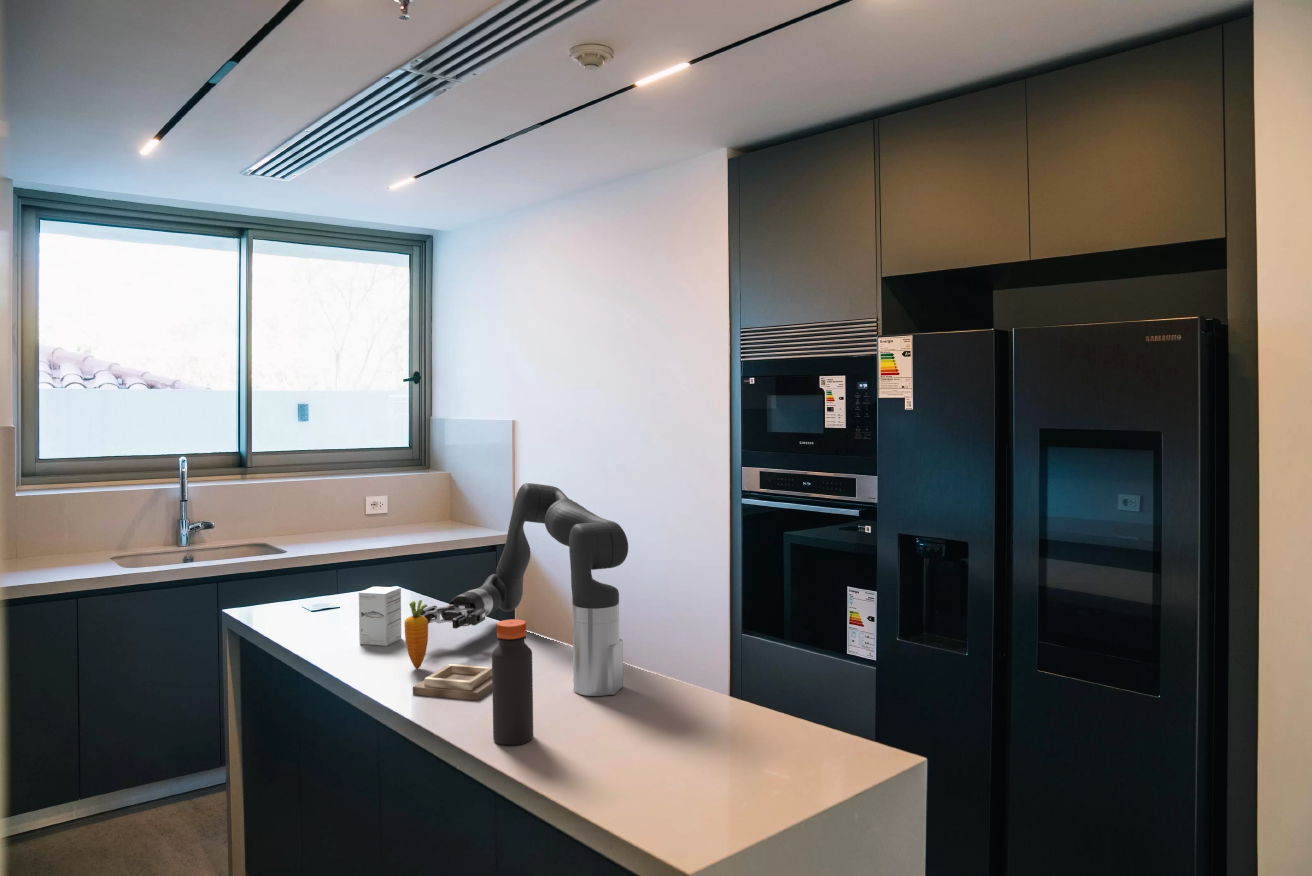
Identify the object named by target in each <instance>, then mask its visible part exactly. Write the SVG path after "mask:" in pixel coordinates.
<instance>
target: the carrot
mask: <svg viewBox="0 0 1312 876" xmlns="http://www.w3.org/2000/svg"><path fill="white" fill-rule="evenodd" d="M422 602H423V600H422V599H419V600H418V603H417V606H416V601H415V600H412V601H411V602H409V607H410V609H411V613H412V615H411V616H408V617H407V618H406V619H405V620H404V635H405V637H404V638H405V645H406V650H407V653H408V657H409V660H410V662H411V663H412V666H413V667H414V668H415V669H416V670H418V669H419V668H420V667H421V666H422V665H423V664H422V663H423V662H424V659H425V657H426V652H427V647H428V641H429V624H428V620H427V619H426V618H425V617H424V616H420V614H421V612H422V611H423V610H424V609H426V608H428V604H426V603H425V604H423V605H422ZM416 607H417V608H416Z"/></svg>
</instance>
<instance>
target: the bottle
mask: <svg viewBox="0 0 1312 876" xmlns="http://www.w3.org/2000/svg"><path fill="white" fill-rule="evenodd" d="M526 635H527V622H526V621H525V620H523V619H517V618H516V619H515V618H514V619H512V618H511V619H503V620H501V621H498V622H497V623H496V637H497V640H498V645H497V646H495V648H494V649H493V651H492V652H491V667H492V733H493V734H492V736H493V737H492V739H493V741H494V742H495V743H496V744H497V745H500V746H506V747H507V746H509V747H510V746H511V747H513V746H519V745H524V744H527V743H528V742H531V740H532V739H533V738H534V699H533V697H534V695H533V693H534V691H533V689H534V688H533V680H534V679H533V651H532V649H531V648H530V647H529V645H527V643H525V639H526V638H527V636H526Z"/></svg>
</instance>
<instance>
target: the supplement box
mask: <svg viewBox="0 0 1312 876" xmlns="http://www.w3.org/2000/svg"><path fill="white" fill-rule="evenodd" d="M401 588H402V587H390V586H371V587H369V588H366V589H364V590H361V591H359V592H358V620H359V621H358V624H359V626H358V627H359V628H358V629H359V634H358V637H359V641H358V643H359V645H368V646H369V645H373V646H381V647H382V646H383V647H388V646H390V645H391V644H394V643H395V642H397V641H400V640H402V595H401V594H402V589H401Z"/></svg>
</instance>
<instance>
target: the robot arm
mask: <svg viewBox="0 0 1312 876" xmlns="http://www.w3.org/2000/svg"><path fill="white" fill-rule="evenodd" d="M510 516H511V517H510V520H509V525H508V531H507V534H506V535H507V536H506V540H505V544H504V547H503V551H502V554H501V556H500V557H499V558H500V559H499V561H498V564H497V566H496V571H495V573H493V574H491V575H489V576H488V577H487V578H486V579H485V580H484V582H483V584H482V585H481V586H480V587H477V588H475V589H469V590H467V591H466V592H463V593H461V594H458V595H456V596H454V597H453V599H451V601H450V602H449V604H447V605H446V606H439V607H438V606H437V605H431V606H430V607H425V608H424V609H423V611H422V612H421V614H420V616H424V617H425V618H426V619H427V620H428V625H429V624H430V623H436V624H444V623H445V624H446V623H450V624H451V623H452V629H453V630H454V629H458V628H461V627H469V626H474V627H475V626H477V625H478V624H480V623H482V622H483V621H485V620H486V617H487V616H489V615H490V614H492V613H494V612H496V611H497V610H498V609H500V610H502V611H504V612H507V613H508V612H512V611H514V610H515V609H517V607H519V605H520V603H521V601H522V598H523V593H524V575H525V573H526V571H527V569H528V565H529V562H530V559H531V547H530V544H529V542H528V539H527V537H526V534H525V530H524V526H525V525H524V524H525V522H528V523H538V524H544V526H545V529H546V531H547V533H548V534H549V535H550V536H551V537H552V538H553V539H554V540H555V541H556V542H558V543H559V544H561V545H564V546H566V547H568V549H569V550H568V551H569V563H570V584H571V585H570V586H571V596H572V598H571V599H572V659H573V660H572V664H573V665H572V667H573V668H572V669H573V670H572V671H573V675H572V676H573V677H572V680H573V681H572V683H573V691H574V692H575V693H576V694H578V695H583V696H589V697H600V696H602V697H603V696H614V695H615V694H617V693H618V692H619V691H620V689H621V688H623V686H624V642H623V641H624V640H623V639H622V638H620V593H619V590H618V588H617V587H615V586H613V585H610V584H607V583H603V582H599V581H598V580H595V578H593V573H592V570H593V571H594V570H595V571H596V570H605V569H606V570H607V569H613V568H617V567H619V566H620V565H622V564H623V563H624V562H625V561H626V559H627V557H628V553H629V540H628V537H627V534H626V533H625V531H624V529H623V527H622V526H620V524H618V523H617V522H616V521H612V520H608V519H605V518H602V517H600V516H598V515H597V514H595V513H594V512H591V511H590V510H588V509H587V508H586V507H584V506H582V505H581V504H579V503H577V502H575V501H574V500H572V499H570V498H569V497H568V496H567V495H566V494H565V493H564V491H562V490H561V489H560V488H558V487H557V486H553V485H547V484H538V483H532V482H531V483H528V482H526V483H523V484H522V485H521V486H520V487H519V488H518V489H517V492H516V496H515V499H514V503H513V507H512V511H511V515H510ZM441 618H442V619H441Z"/></svg>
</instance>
